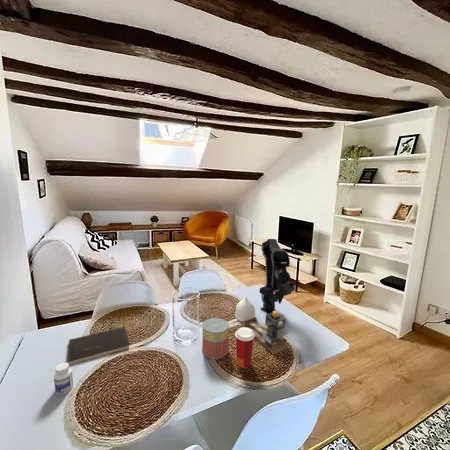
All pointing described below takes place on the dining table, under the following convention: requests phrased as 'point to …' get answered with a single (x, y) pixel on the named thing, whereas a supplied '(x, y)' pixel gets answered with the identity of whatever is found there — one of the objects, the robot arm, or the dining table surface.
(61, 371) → the pill bottle
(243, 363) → the paper cup
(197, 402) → the dining table surface
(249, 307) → the teardrop
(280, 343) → the rail
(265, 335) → the carriage
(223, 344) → the canned food
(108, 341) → the hardcover book
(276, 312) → the button
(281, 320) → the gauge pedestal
